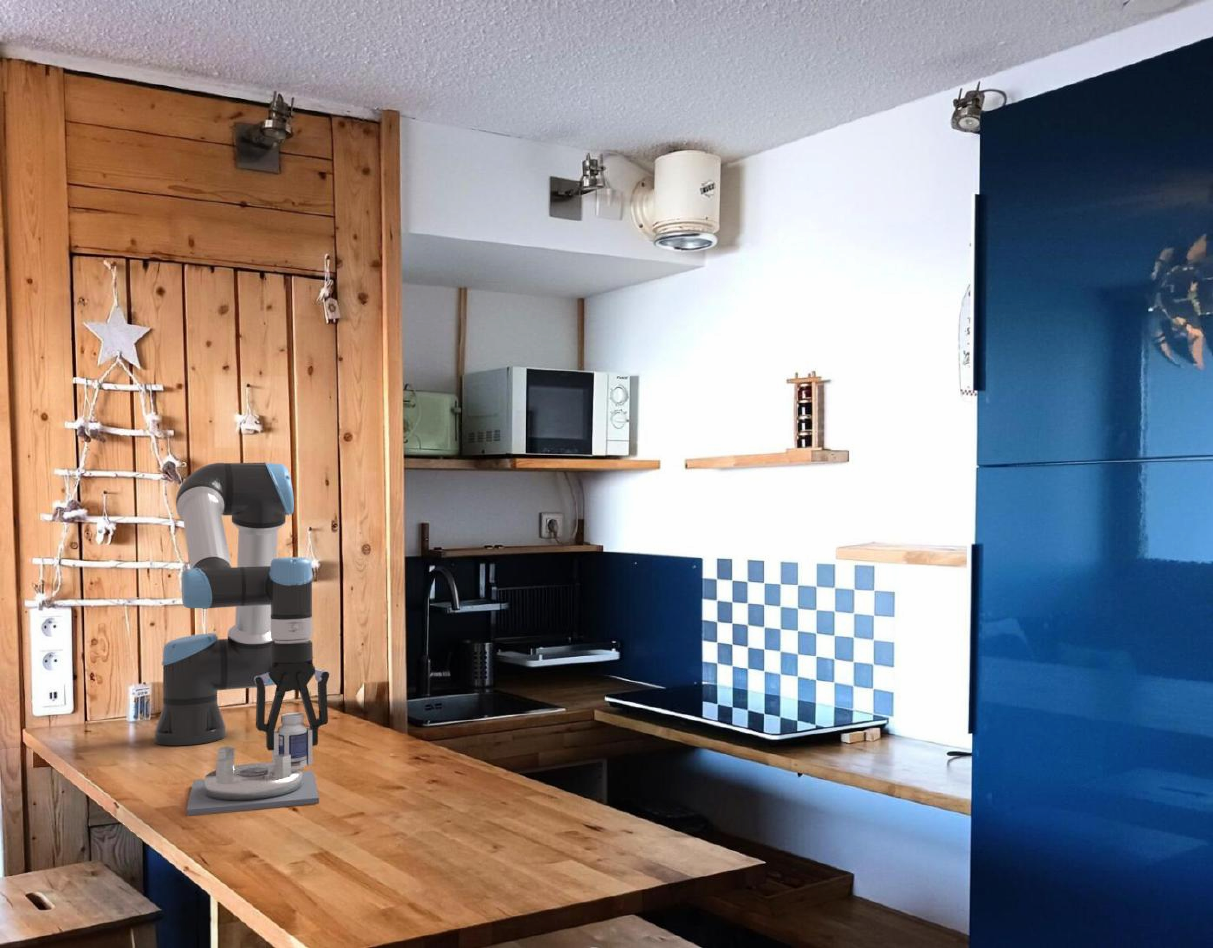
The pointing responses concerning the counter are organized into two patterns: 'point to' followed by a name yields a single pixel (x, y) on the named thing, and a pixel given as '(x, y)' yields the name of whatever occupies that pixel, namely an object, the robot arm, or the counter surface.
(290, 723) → the pill bottle
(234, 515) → the robot arm
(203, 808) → the grey square plate
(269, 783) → the grey shallow round piece
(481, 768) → the counter surface
